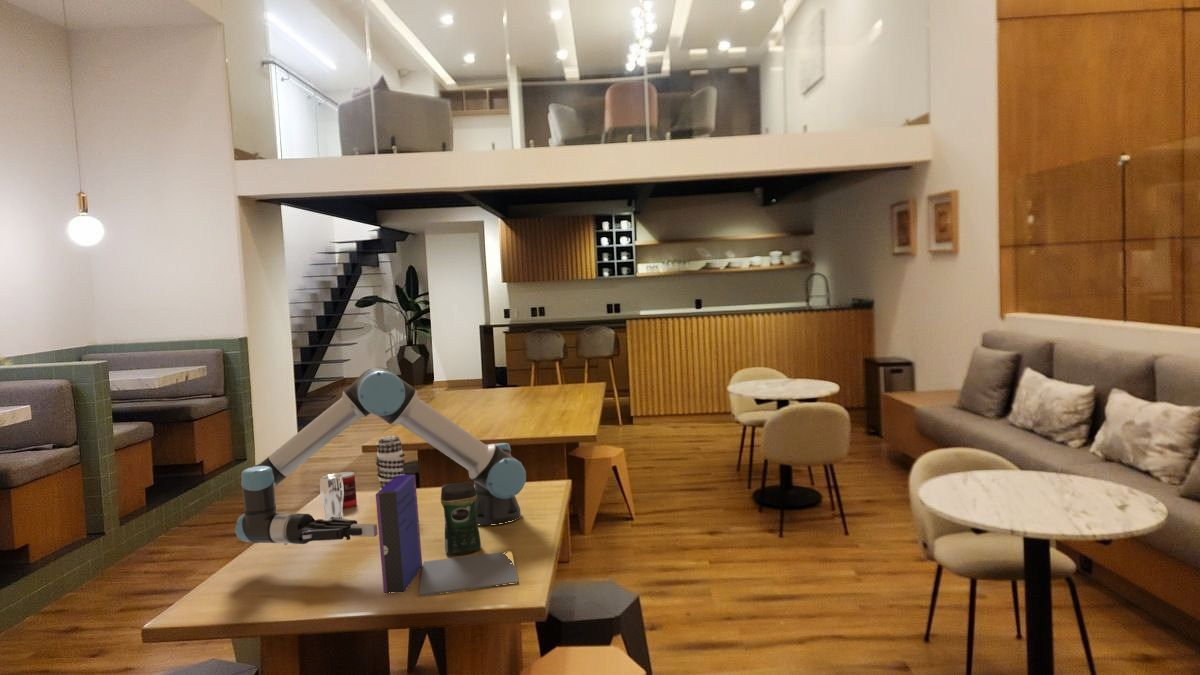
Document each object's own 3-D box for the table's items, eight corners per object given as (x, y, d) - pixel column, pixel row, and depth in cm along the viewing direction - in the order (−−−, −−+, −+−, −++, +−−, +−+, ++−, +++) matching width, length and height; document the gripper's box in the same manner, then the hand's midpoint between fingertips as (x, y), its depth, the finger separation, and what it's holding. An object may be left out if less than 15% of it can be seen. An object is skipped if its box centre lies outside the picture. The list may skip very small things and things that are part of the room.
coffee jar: (479, 543, 208) (474, 477, 207) (482, 552, 201) (476, 484, 199) (444, 548, 206) (439, 481, 205) (445, 557, 198) (439, 488, 197)
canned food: (335, 504, 260) (333, 472, 259) (359, 502, 261) (356, 470, 260) (329, 510, 252) (327, 478, 252) (354, 508, 253) (351, 476, 252)
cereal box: (403, 566, 194) (396, 475, 192) (422, 565, 194) (414, 473, 192) (383, 593, 176) (375, 493, 175) (404, 592, 176) (395, 492, 175)
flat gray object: (512, 552, 199) (512, 550, 199) (518, 583, 177) (518, 581, 177) (423, 563, 195) (423, 561, 195) (418, 596, 173) (418, 594, 173)
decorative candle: (396, 507, 250) (390, 433, 249) (415, 511, 245) (409, 435, 243) (374, 515, 243) (367, 439, 241) (392, 518, 237) (386, 440, 236)
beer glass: (338, 526, 233) (334, 479, 232) (318, 526, 234) (314, 479, 233) (350, 519, 239) (346, 473, 238) (331, 519, 241) (327, 473, 240)
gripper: (311, 534, 199) (390, 536, 193) (278, 551, 186) (362, 554, 180) (308, 506, 198) (388, 507, 192) (275, 522, 186) (359, 523, 180)
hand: (375, 530), depth 186 cm, fingers closed
